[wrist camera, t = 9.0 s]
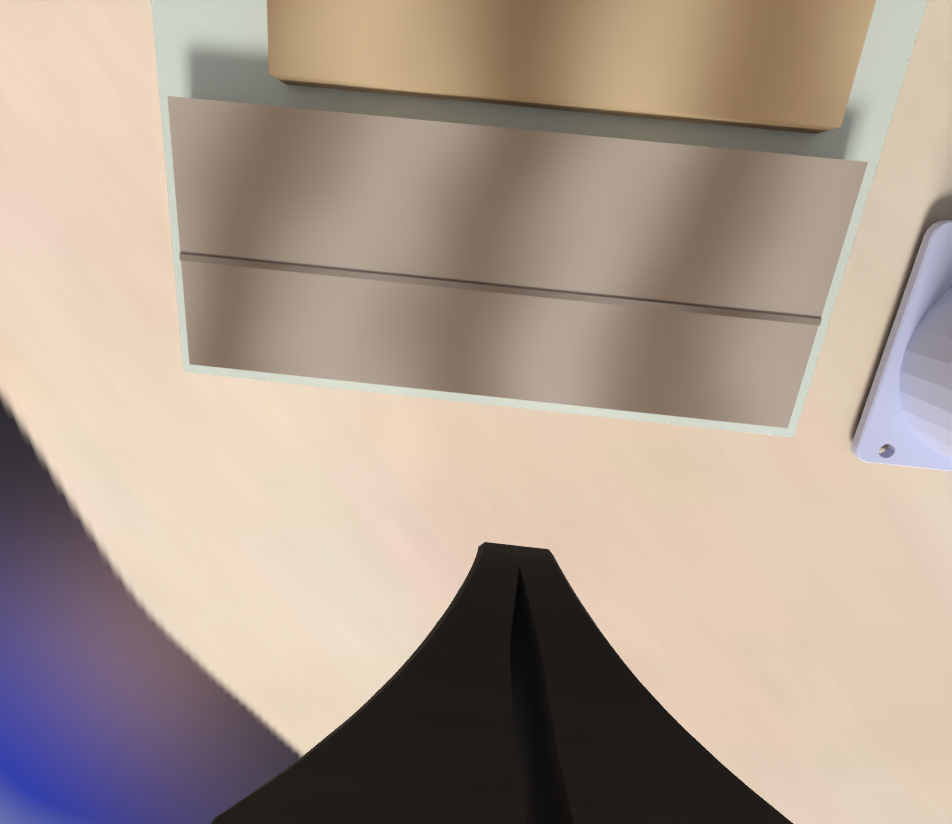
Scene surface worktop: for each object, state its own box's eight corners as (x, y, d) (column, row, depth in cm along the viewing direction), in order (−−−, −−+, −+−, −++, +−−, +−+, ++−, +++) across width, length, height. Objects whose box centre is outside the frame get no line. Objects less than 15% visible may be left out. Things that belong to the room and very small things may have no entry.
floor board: (843, 166, 16) (869, 161, 15) (771, 416, 19) (788, 428, 18) (190, 104, 17) (166, 95, 16) (208, 356, 19) (188, 364, 18)
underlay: (1021, -320, 13) (1028, -328, 13) (790, 435, 19) (793, 437, 19) (122, -384, 14) (116, -393, 13) (186, 370, 20) (183, 371, 20)
